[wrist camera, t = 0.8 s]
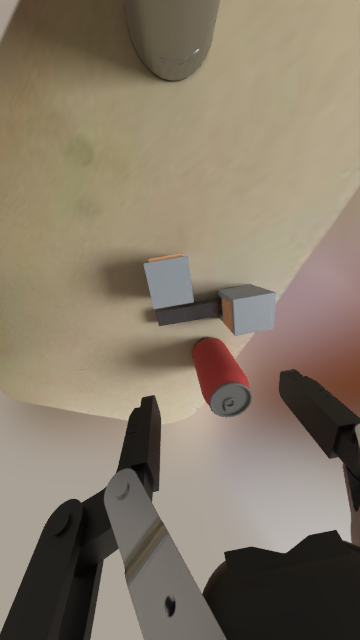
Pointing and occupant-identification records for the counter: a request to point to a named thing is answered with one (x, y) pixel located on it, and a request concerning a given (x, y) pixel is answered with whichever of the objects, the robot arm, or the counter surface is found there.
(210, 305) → the rail
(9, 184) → the counter surface
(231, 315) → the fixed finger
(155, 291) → the grey block
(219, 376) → the beer can
